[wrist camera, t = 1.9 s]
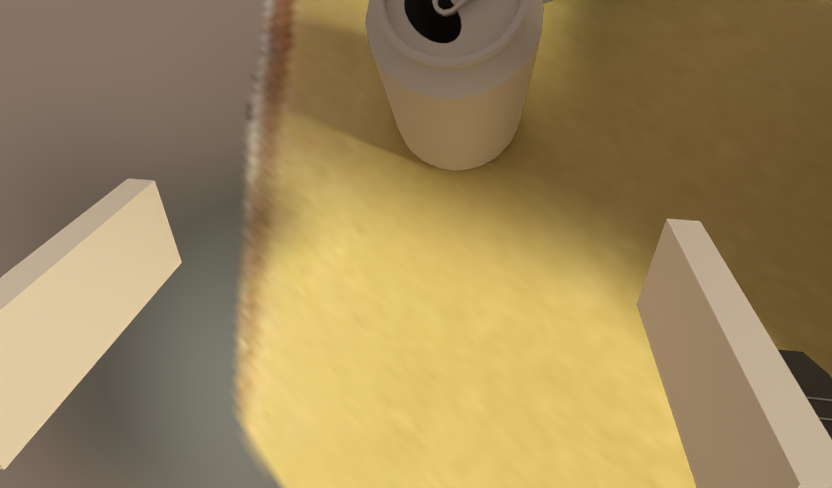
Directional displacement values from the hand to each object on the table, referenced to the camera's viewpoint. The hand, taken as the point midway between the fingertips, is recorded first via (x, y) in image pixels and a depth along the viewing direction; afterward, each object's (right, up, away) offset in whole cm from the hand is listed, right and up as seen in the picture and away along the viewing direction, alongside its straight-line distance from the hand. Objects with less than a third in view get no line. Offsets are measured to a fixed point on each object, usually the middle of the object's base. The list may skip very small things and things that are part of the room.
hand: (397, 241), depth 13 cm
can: (+3, +8, +18) cm, 20 cm away
